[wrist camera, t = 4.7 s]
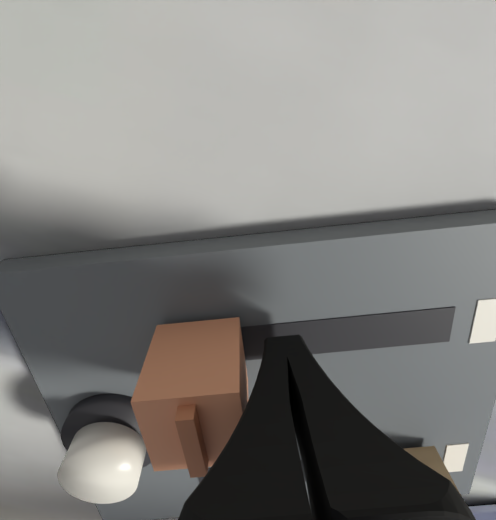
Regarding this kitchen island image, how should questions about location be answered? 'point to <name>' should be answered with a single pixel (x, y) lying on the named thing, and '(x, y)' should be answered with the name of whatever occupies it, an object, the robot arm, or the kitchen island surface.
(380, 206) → the kitchen island surface
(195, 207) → the kitchen island surface
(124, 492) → the button
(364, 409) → the panel
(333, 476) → the robot arm
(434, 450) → the oak knob
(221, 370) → the terracotta knob
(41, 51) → the kitchen island surface
